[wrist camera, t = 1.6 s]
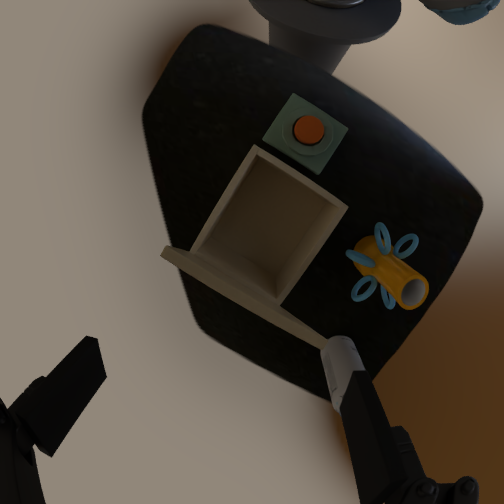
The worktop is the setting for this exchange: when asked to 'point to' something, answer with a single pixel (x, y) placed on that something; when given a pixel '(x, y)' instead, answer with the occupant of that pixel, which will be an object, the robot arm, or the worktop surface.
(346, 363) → the energy drink can
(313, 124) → the button
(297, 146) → the control block
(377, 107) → the worktop surface
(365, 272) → the cylinder
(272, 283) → the beige square box
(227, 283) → the beige board
